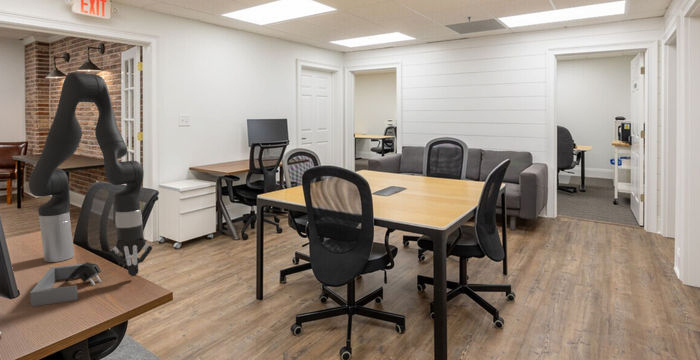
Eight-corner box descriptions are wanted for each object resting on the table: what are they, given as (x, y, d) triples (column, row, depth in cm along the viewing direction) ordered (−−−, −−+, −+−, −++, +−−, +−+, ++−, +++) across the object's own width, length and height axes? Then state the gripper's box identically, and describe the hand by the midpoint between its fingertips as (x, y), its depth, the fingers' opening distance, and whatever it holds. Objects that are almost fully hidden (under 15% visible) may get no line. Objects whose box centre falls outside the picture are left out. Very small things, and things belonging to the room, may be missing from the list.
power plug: (72, 275, 139) (96, 256, 136) (85, 293, 139) (109, 275, 137) (57, 281, 134) (82, 262, 131) (71, 301, 134) (96, 282, 131)
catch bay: (52, 279, 138) (50, 267, 137) (91, 274, 142) (89, 263, 141) (31, 306, 118) (29, 292, 118) (77, 299, 122) (75, 286, 122)
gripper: (152, 219, 140) (156, 268, 143) (107, 222, 135) (112, 274, 138) (151, 224, 133) (155, 276, 136) (103, 228, 128) (108, 282, 131)
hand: (133, 275), depth 137 cm, fingers closed
